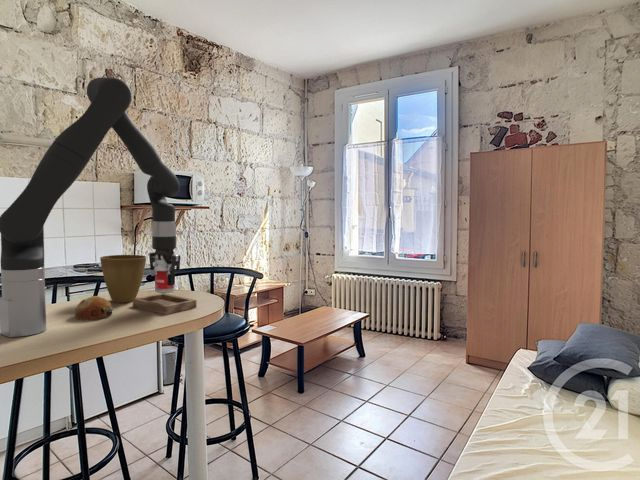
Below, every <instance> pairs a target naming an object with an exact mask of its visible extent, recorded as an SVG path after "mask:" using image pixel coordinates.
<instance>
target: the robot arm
mask: <svg viewBox="0 0 640 480" xmlns="http://www.w3.org/2000/svg"><path fill="white" fill-rule="evenodd" d="M86 95H87V98H88V100H89V102H90V104H89V105H88V107H87V109H86V110H85V111H84V113H83V114H82V115H81V116H80V117H79V118H78V119H76V121H74V122H73V123H71V124H70V125H69V126H68V127H67V128H65V129H64V130H62V132H61V133H59V135H57V137H56V138H55V139H54V141H53V142H52V143H51V145H50V146H49V147H48V149H47V150H46V152H45V153H44V154H43V156H42V158H41V160H40V161H39V163H38V165H37V166H36V168H35V170H34V172H33V174H32V176H31V178H30V180H29V182H28V184H27V185H26V186H25V188H24V189H23V191H22V192H21V193H20V194H19V195H18V196H17V197H16V199H15V200H14V201H13V202H12V203H11V204H10V205H9V207H7V209H6V210H4V212H3V213H2V214H1V215H0V246H1V247H0V249H1V250H0V277H1V278H0V279H1V296H0V334H1V335H3V336H4V337H7V338H16V337H18V338H19V337H26V336H31V335H36V334H37V335H38V334H40V333H42V332H44V331H46V330H47V313H46V312H47V310H46V309H47V307H46V284H45V283H46V280H45V279H46V278H45V276H46V275H45V274H46V273H45V232H44V231H45V230H44V229H45V224H46V221H47V220H48V217H49V215H50V213H51V212H52V211H53V209H54V206H55V205H56V203H57V202H58V201H59V199H60V198H61V197H62V196H63V195H64V193H66V191H68V190H69V188H70V187H71V186H72V185H73V183H75V181H76V180H77V179H78V178H79V176H81V173H82V172H83V171H84V170H85V167H86V166H87V164H88V163H89V162H90V160H91V159H92V157H93V155H94V154H95V152H96V151H97V149H98V148H99V147H100V145H101V144H102V142H103V141H104V138H105V137H106V135H108V132H109V131H110V130H111V128H112V130H114V132H115V134H116V135H117V136H118V138H119V139H120V141H122V143H123V145H124V146H125V148H126V150H128V152H129V153H130V155H131V156H132V158H133V160H134V161H135V163H136V165H137V166H138V167H139V170H141V172H142V173H143V174H145V175H148V176H150V178H149V179H148V180H147V185H146V190H147V195H148V199H149V201H150V202H149V203H150V205H151V208H152V225H151V226H152V227H151V238H152V239H151V248H152V250H155V251H152V252H149V253H148V254H149V255H148V257H149V269H150V270H151V271H152V270H153V273H155V268H156V266H158V264H157V260H159V259H160V260H162V261H163V264H164V268H165V269H167V273H168V285H169V286H171V285H174V284H176V283H175V282H176V274H177V273H180V267H181V255H180V254H175V253H174V250H176V249H177V227H176V207H175V206H174V205H173V204H172V203H169V202H168V201H167V198H166V197H174V196H176V195H178V193H179V192H180V187H181V186H180V185H181V184H180V181H179V179H178V177H177V176H176V174H175V173H174V172H173V171H172V170H171V169H170V168H169V167H168V165H167V164H165V163H164V162H163V160H162V159H161V157H160V156H159V153H158V152H157V151H156V148H155V147H154V146H153V144H152V143H151V141H150V140H149V139H148V137H147V136H146V135H145V134H144V133H143V132H142V131H141V130H140V128H138V126H137V125H136V123H134V121H133V120H132V119H131V117H130V116H129V114H128V112H127V109H129V107H130V105H131V103H132V90H131V88H130V86H129V85H128V84H127V82H125V80H122V79H120V78H116V77H106V76H104V77H103V76H101V77H95V78H93V79H91V80H90V81H89V82H88V83H87V86H86ZM168 264H171V265H168ZM170 268H171V271H170Z"/></svg>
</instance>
